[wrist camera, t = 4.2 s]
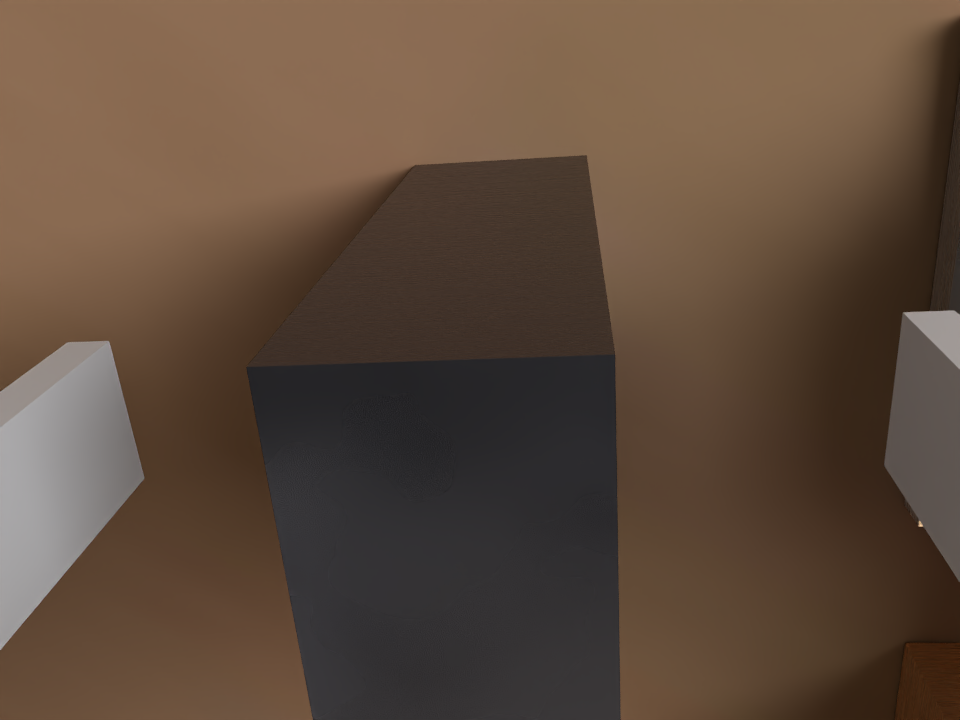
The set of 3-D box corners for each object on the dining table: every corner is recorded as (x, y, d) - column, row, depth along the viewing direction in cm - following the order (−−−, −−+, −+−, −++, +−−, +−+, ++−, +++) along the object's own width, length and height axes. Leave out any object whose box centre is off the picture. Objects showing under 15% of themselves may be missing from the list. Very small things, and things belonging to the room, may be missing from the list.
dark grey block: (438, 396, 23) (322, 772, 12) (415, 165, 21) (246, 367, 10) (592, 392, 23) (621, 778, 12) (586, 155, 20) (614, 354, 9)
